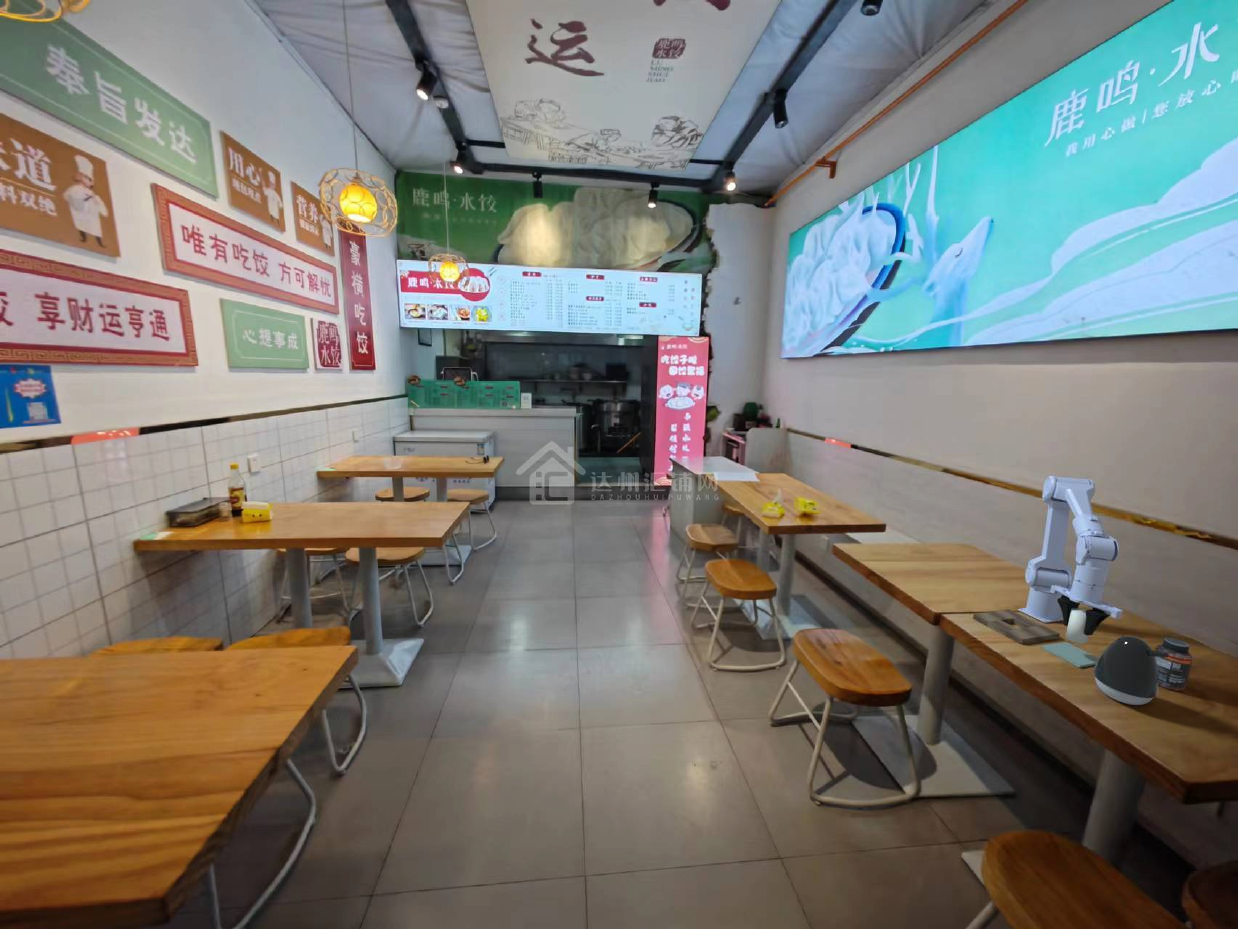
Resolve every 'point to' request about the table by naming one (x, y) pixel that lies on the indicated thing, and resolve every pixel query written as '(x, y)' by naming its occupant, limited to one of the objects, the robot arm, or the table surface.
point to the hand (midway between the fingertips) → (1077, 629)
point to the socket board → (1029, 629)
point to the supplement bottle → (1174, 664)
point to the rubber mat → (1071, 654)
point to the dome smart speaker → (1129, 671)
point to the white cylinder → (1077, 626)
